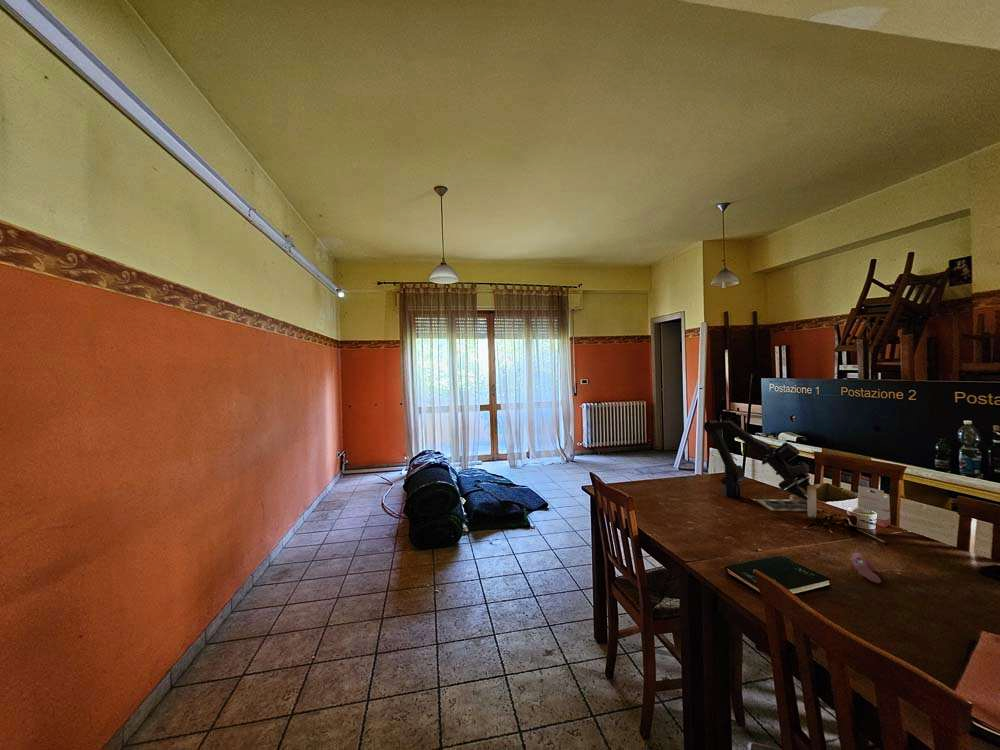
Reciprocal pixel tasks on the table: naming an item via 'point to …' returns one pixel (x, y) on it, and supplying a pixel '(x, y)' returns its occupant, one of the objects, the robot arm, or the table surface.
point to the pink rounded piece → (865, 567)
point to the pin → (811, 500)
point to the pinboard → (785, 504)
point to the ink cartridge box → (875, 504)
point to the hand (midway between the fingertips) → (811, 497)
